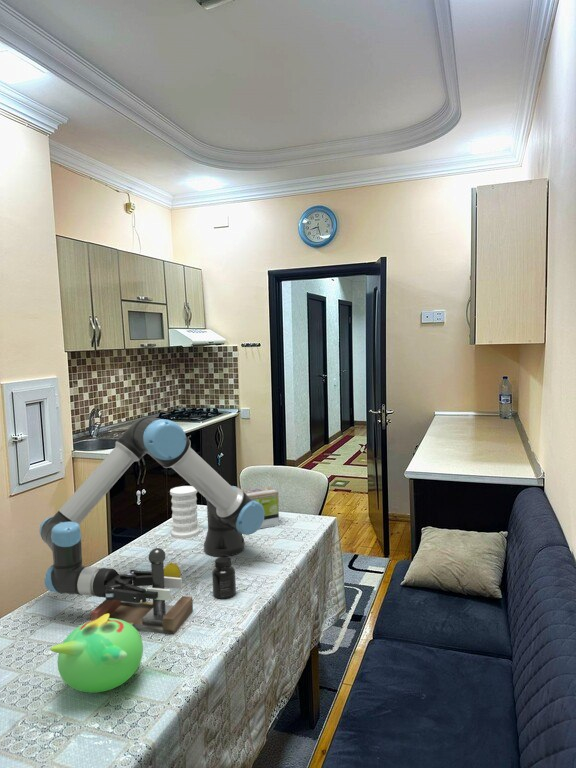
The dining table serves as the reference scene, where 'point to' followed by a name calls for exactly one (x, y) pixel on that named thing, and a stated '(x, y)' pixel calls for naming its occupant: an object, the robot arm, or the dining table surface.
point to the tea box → (266, 504)
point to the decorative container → (184, 512)
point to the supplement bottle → (224, 579)
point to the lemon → (172, 571)
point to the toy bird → (99, 654)
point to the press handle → (157, 570)
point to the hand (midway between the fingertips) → (175, 589)
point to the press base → (137, 611)
